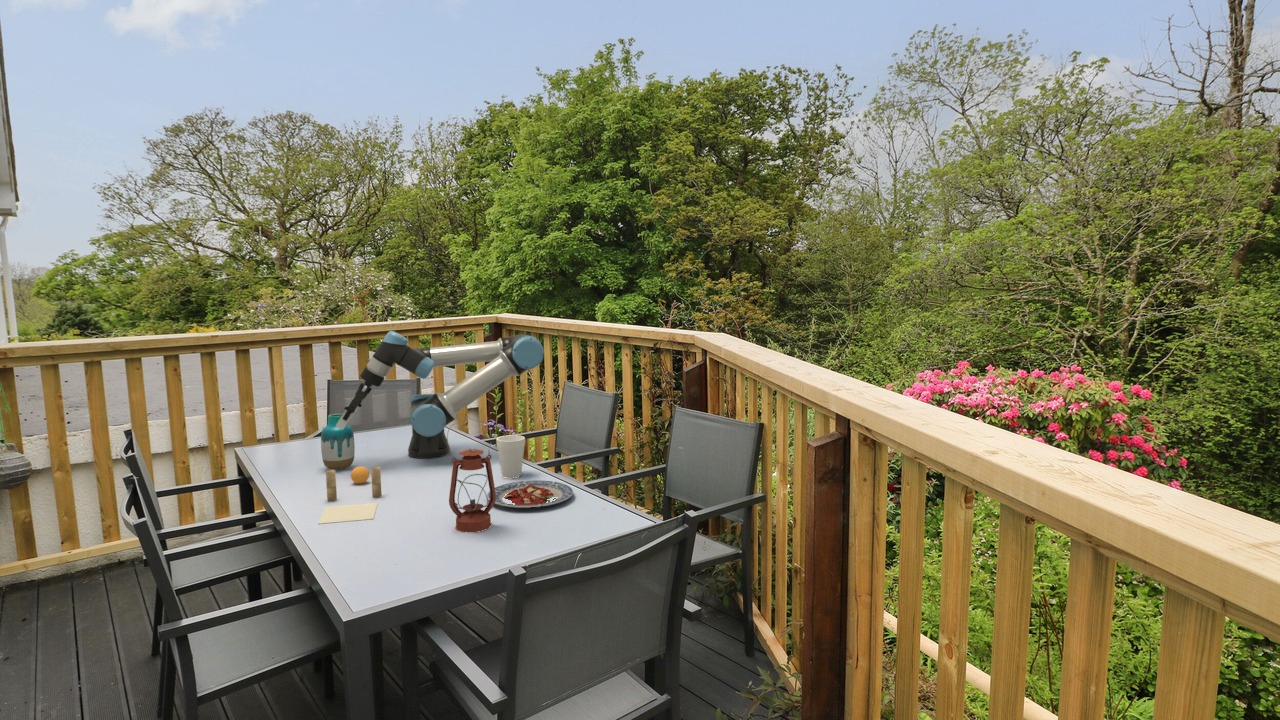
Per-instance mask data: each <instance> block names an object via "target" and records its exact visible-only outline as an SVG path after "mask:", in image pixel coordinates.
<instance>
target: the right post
mask: <svg viewBox="0 0 1280 720" xmlns="http://www.w3.org/2000/svg"><path fill="white" fill-rule="evenodd" d="M370 471H371V476H370V477H371V493H372V495H371V497H372V498H373V499H378V498H379V499H380V498H381V497H382V478H381V476H382V475H381V473H382V472H381V467H380V466H373V467H371V470H370Z"/></svg>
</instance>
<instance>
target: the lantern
mask: <svg viewBox="0 0 1280 720" xmlns="http://www.w3.org/2000/svg"><path fill="white" fill-rule="evenodd" d="M466 418H467V416H465V417H464V418H463V419H462V420H460V421H457V422H455V423H453V424H451V425H450V427H449V428H448V429H447V430H448V431H447V434H446V438H447V442H448V446H449V448H450V454H451V456H452V458H451V462H452V463H453V464H452V472H451V479H450V489H449V496H448V504H449V507H450V509H451V511H452V513H453V514H455V515H456V517H455V527H454V529H455V530H456V531H457V532H460V533H465V532H468V534H469V532H474V533H479V532H478V531H480V532H483V531H482V530H484V531H486V530H485V529H487V530H488V528H489V527H490V526H491V524H492V522H491V514H490V513H489V512H491V510H492V508H493V507H494V505H495V501H496V492H495V486H496V485H495V481H494V474H493V469H492V463H491V459H492V455H491V454H490V449H491V446H492V443H490V445H489V447H488V451H487V452H488V454H487V455H486V457H482V456H481V455H483V454H484V453H485V451H484V450H483V449H476V448H469V449H465V450H462V451H459V452H458V455H460V456H462V458H461V459H457V458H456V457H455V456H454V455H453V452H452V450H451V447H450V444H449V440H448V435H449V431H450V429H451V428H452V427H453V426H454V425H455V424H458V423H462V422H463V421H465V419H466ZM468 419H469V420H471V421H476V422H478V420H477V419H476V420H475V419H473V418H470V417H468ZM480 422H481V423H485V424H487V425H488V427H489V428H491V427H490V424H489V423H488V422H485V421H482V420H479V423H480ZM491 431H492V430H491V429H489V435H490V437H492V433H491ZM484 464H485V465H484ZM484 468H486V471H485V472H486V474H483V473H476V474H474V473H473V474H470V475H468V476H467V477H465V478H464V479H463V480H460V479H458V474H459V469H460V470H462V471H478V470H482V469H484ZM473 476H483V477H486V478H487V479H486V480H485V483H484V485H483V486H481V485H480V484H478V483H473V482H467V481H466V480H467V479H468V478H469V477H473ZM457 482H459V483H460V484H461V485H460V487H459V490H458V494H457V503H456V499H455V498H456V497H455V496H456V488H457ZM487 483H488V487H489V491H490V501H489V500H488V498H487V493H486V491H485V489H484V488H485V486H486V484H487ZM464 484H469V485H475V486H478V487H479V488H480V489H481V491H480V493H479V496H478V499H477V502H476V499H475V498H474V499H472V498H471V497H470V494H469V493H468V490H467V487H466V486H465V485H464ZM462 487H463V488H464V489H465V491H466V494H467V497H468V498H469V503H467V504H465V505H464V504H463V506H461V505H460V503H459V496H460V493H461V492H460V491H461V489H462ZM483 492H484V495H485V498H486V501H487V502H486V505H484V504H482V503H479V501H480V498H481V496H482V495H481V494H482V493H483ZM483 508H485V509H483ZM460 509H461V510H463V512H462V511H461V510H460ZM491 527H492V526H491ZM491 527H490V528H491ZM490 528H489V529H490Z"/></svg>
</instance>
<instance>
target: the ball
mask: <svg viewBox="0 0 1280 720" xmlns="http://www.w3.org/2000/svg"><path fill="white" fill-rule="evenodd" d="M369 477H370V471H369V470H368V469H367V468H366V467H364V466H356V467H355V468H353V470H352V471H351V473H350V479H351V481H352V482H353V483H355V484H359V485H360V484H364V483H366V482H367V481H369V479H370V478H369Z"/></svg>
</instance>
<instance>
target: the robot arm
mask: <svg viewBox="0 0 1280 720" xmlns="http://www.w3.org/2000/svg"><path fill="white" fill-rule="evenodd" d="M408 343H409V339H408V338H406V337H405V336H403V335H402V334H400V333H398V332H396V331H394V330H390V331H388V332H387V334H386V335H384V337H383V339H382V340H381V342H380V343H379V345H378V347H377V348H376V350H375V352H374V353H373V355H372V356H371V357H369V358H368V359H367V360H368V363H367V364H366V367H364V369H363V370H362V371H361V373H360V375H359V376H360V378H361V379H362V380H364V381H365V382H363V383H362V382H361V383H360V385H359V386H358V389H357V390H356V392H355V394H354V395H355V396H354V397H353V398H352V400H351V401H350V403H349V405H348V406H345V407H344V411H343V413H342V414H343V415H342V416H341V418H340V420H339V421H338V423H337V424H336V427H338V428H340V429H342V430H343V429H344V427H345V426H346V424H347V425H348V423H350V421H351V420H352V418H353V416H354V415H355V413H356V411H357V410H358V409H359V408H361V407H362V401H363V400H364V399H366V397H367V396H368V395H369V394H370V393H371V391H372V390H373V389H372V386H375V387H381V385H382V383H384V380H385V377H387V376H388V375H389V373H390V372H391V370H392V368H393V366H394V365H395V364H396V365H397V366H399V367H400V368H403V369H404V370H406V371H408V372H410V373H411V374H413V375H415V376H416V377H419V378H421V379H423V380H424V379H427V377H428V376H429V375H430V373H431V372H432V371H433V368H438V367H439V368H440V367H449V366H451V367H452V366H459V365H466V364H467V365H468V364H479V363H487V362H488V363H487V364H485V365H484V366H482V367H481V368H479V369H478V370H476V371H475V372H474V373H471V374H470V375H469V376H467V377H466V378H464V379H463V380H461V381H460V382H458V383H457V384H455V385H454V386H453V387H451V388H449V389H448V390H447V391H445V392H444V393H441V392H436V393H423V394H422V393H421V394H413V395H412V396H411V397H410V399H411V400H410V404H411V405H410V406H411V413H410V414H411V415H410V424H411V429H412V431H411V433H412V435H411V439H410V442H409V444H408V445H409V446H408V449H407V456H409V457H410V458H413V459H432V458H433V457H435V458H439V457H444V456H447V455H449V454H450V453H451V451H450V449H451V447H450V445H449V446H448V444H449V441H448V442H447V439H448V437H447V435H446V433H445V428H446V426H448V425H449V424H451V423H452V422H453V421H455V420H456V419H457V414H458V413H459V412H460V411H462V410H464V409H465V408H467V407H468V406H469V405H471V404H472V403H474V402H475V401H477V400H479V398H481V397H483V396H484V395H486V394H487V393H488V392H490V391H491V390H494V389H495V388H496V387H497V386H499V385H500V384H502V383H503V382H505V381H506V380H507V379H509V378H511V377H512V376H514V377H515V376H516V377H520V376H521V375H522V374H523V373H525V372H526V371H528V370H531V369H535V368H537V367H538V366H539V365H541V363H542V362H543V359H544V355H545V350H544V346H543V345H542V343H541V341H540V340H539V339H537V338H536V337H534V336H532V335H530V334H525V333H521V334H517V335H512V336H511V335H510V336H506V337H499V338H498V339H497V340H495V341H494V340H493V341H484V342H475V343H473V342H472V343H463V344H455V345H444V346H434V347H424V348H418V347H416V348H412V347H410V346H409V345H408ZM449 447H450V448H449ZM449 452H450V453H449ZM448 453H449V454H448ZM446 454H447V455H446ZM443 455H444V456H443Z"/></svg>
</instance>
